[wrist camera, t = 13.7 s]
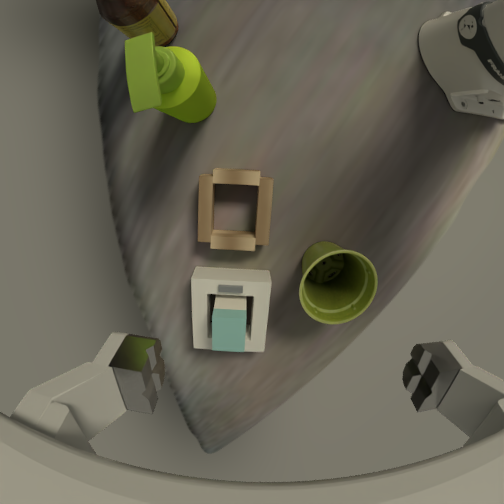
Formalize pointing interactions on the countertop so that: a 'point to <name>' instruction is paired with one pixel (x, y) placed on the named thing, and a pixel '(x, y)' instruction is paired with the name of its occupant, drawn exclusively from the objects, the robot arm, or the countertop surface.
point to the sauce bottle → (141, 18)
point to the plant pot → (336, 283)
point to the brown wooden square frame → (228, 237)
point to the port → (230, 284)
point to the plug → (229, 323)
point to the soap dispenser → (167, 80)
